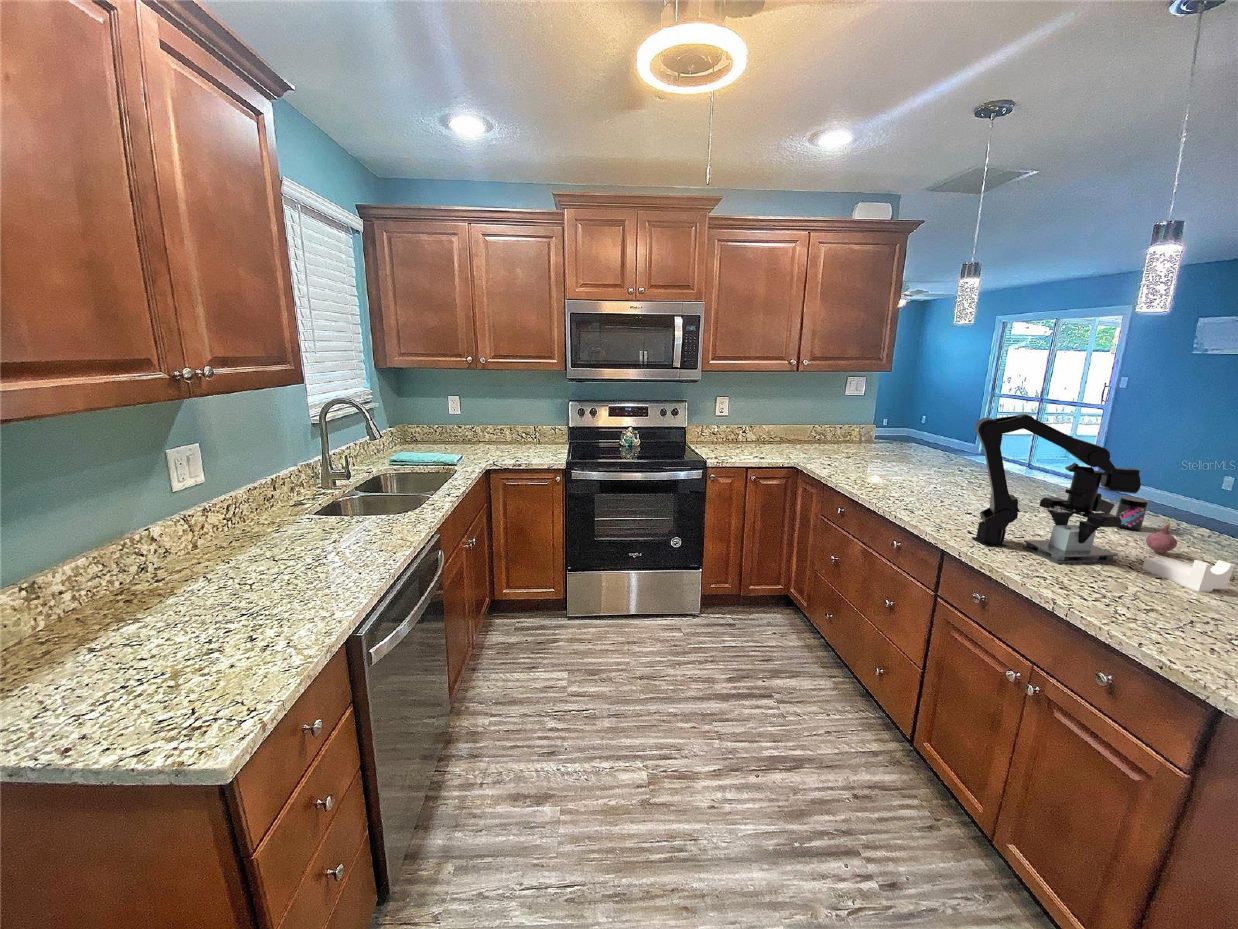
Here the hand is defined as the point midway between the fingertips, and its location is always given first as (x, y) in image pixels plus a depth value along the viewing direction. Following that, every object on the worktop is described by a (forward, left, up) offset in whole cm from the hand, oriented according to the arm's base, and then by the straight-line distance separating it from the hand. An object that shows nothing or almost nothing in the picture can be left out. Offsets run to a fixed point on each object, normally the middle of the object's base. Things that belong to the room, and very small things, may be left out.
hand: (1071, 539), depth 140 cm
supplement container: (+44, +21, -5) cm, 49 cm away
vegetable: (+29, 0, -5) cm, 29 cm away
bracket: (+16, -16, -6) cm, 23 cm away
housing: (0, 0, -2) cm, 2 cm away
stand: (0, 0, -5) cm, 5 cm away
